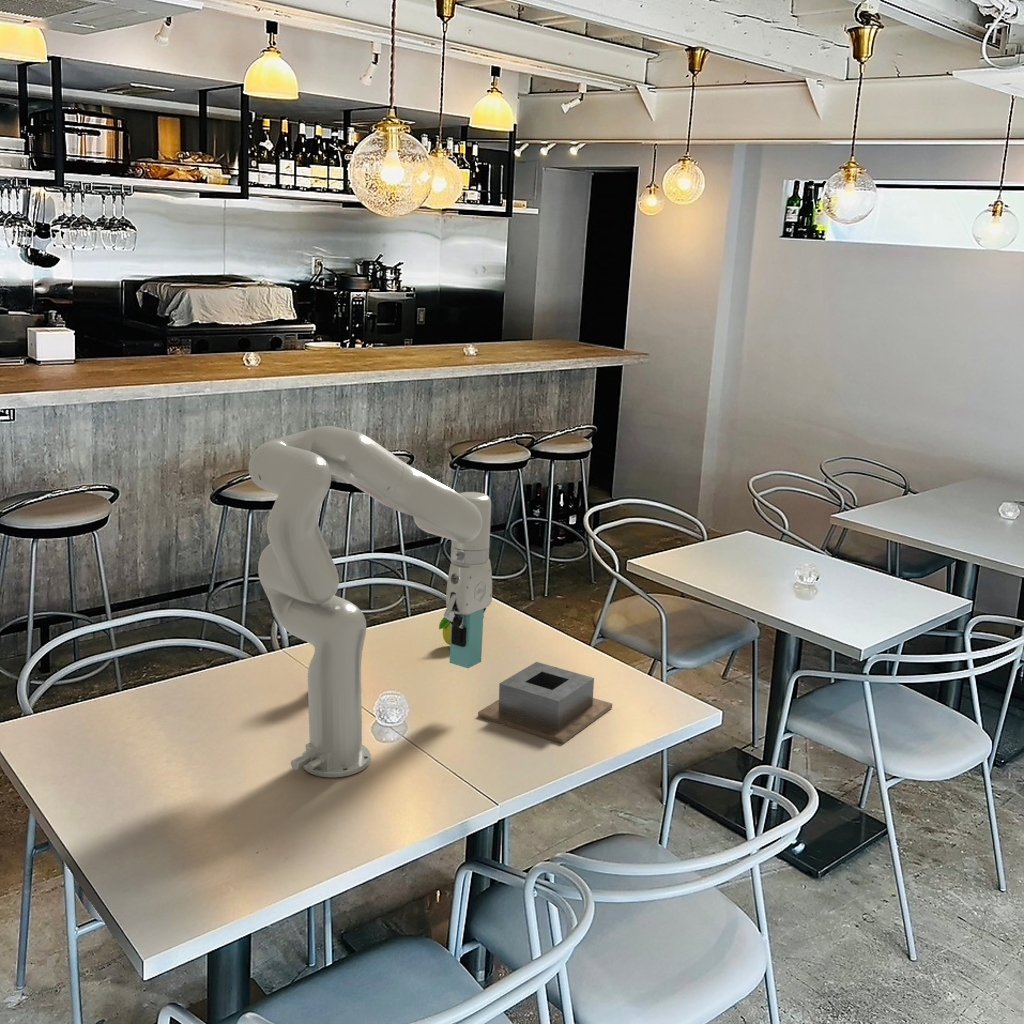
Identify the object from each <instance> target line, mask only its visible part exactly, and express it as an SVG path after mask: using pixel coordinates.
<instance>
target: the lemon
mask: <svg viewBox="0 0 1024 1024" xmlns="http://www.w3.org/2000/svg"><path fill="white" fill-rule="evenodd" d="M441 629H442V639H443V640H444V642H445V643H446V644H447V645H449V646H450V639H451V625H450V622H449V621H448V619H446V618H445V617H444V616H443V618H441V620H440V622H439V625H438V630H441Z"/></svg>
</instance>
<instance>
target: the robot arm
mask: <svg viewBox="0 0 1024 1024" xmlns="http://www.w3.org/2000/svg"><path fill="white" fill-rule="evenodd" d="M248 474H249V476H250V478H251V481H252V482H253V483H254V484H255V485H256V486H257V487H258V488H260V489H261V490H264V491H266V492H269V493H272V494H275V495H278V496H277V497H276V499H275V501H274V504H273V506H272V508H271V511H270V514H269V516H268V519H267V524H266V532H267V537H268V541H269V544H268V545H267V546H265V547H264V549H263V550H262V552H261V554H260V557H259V559H258V564H257V565H258V566H257V569H258V570H257V571H258V572H257V573H258V577H259V578H258V579H259V581H260V584H261V586H262V589H263V590H264V593H265V595H266V597H267V599H268V601H269V603H270V605H271V607H272V609H273V611H274V613H275V616H276V618H277V619H278V622H280V624H281V626H282V627H283V628H284V629H285V631H286V632H288V633H289V634H290V635H292V636H294V637H296V638H298V639H299V640H301V641H304V642H307V644H310V645H312V646H313V648H314V652H313V655H312V657H311V660H310V662H309V664H308V668H307V689H308V691H307V694H308V695H307V696H308V731H309V732H308V734H309V735H308V736H309V740H308V743H307V744H305V750H304V752H302V754H301V755H299V756H297V757H296V758H294V759H292V760H291V761H290V765H291V768H292V769H293V770H295V771H297V770H300V769H302V768H303V770H305V771H306V772H308V774H312V775H314V776H317V777H322V778H344V777H348V776H352V775H355V774H357V773H360V772H361V771H363V770H365V769H366V768H367V767H368V766H369V765H370V763H371V761H372V760H371V759H372V758H371V756H372V755H371V752H370V750H369V749H368V747H366V746H365V745H363V723H362V722H363V721H362V719H363V718H362V717H363V715H362V712H363V711H362V708H363V707H362V705H363V704H362V698H363V697H362V658H363V650H364V649H363V648H364V644H365V640H366V639H365V638H366V634H367V621H366V617H365V615H364V613H363V612H362V610H361V609H360V608H359V607H358V606H357V605H355V604H354V603H352V602H351V601H349V600H347V599H344V598H342V597H340V596H337V595H336V594H337V591H338V589H339V583H340V577H339V574H338V568H337V567H336V565H335V562H334V560H333V558H332V555H331V553H330V551H329V548H328V546H327V543H326V542H325V540H324V536H323V534H322V531H321V528H320V526H319V519H318V518H319V513H320V512H319V511H320V509H321V506H322V503H323V502H324V500H325V498H326V496H327V494H328V492H329V490H330V487H331V483H332V476H335V477H338V478H340V479H342V480H343V481H346V482H347V483H349V484H350V485H352V486H354V488H355V487H356V488H357V489H359V490H360V491H362V492H364V493H365V494H366V495H368V496H370V498H373V499H374V500H376V501H377V502H378V503H380V504H381V505H383V506H386V507H388V508H390V509H391V510H395V511H397V512H400V513H402V514H405V515H408V516H411V517H413V521H414V523H415V524H416V526H417V528H419V529H420V530H421V531H423V532H425V533H427V534H432V535H434V536H437V537H441V538H444V539H448V540H450V541H451V548H450V562H451V563H450V566H449V571H448V574H447V575H448V576H447V584H446V594H445V595H446V598H445V599H446V600H445V603H446V604H445V606H446V608H445V610H444V613H443V618H444V617H445V618H446V619H448V621H449V622H450V625H451V626H452V637H451V643H452V644H454V645H457V646H461V647H464V646H466V628H465V627H464V626H465V621H466V615H470V614H472V613H475V612H477V611H479V610H482V609H484V613H483V620H485V619H484V618H485V611H486V610H487V608H488V607H489V606H491V605H492V600H493V576H492V575H493V574H492V566H491V565H492V564H491V559H490V543H491V542H490V539H491V537H490V536H491V520H492V519H491V517H492V499H491V498H490V496H489V495H487V494H486V493H483V492H477V491H463V492H459V493H458V492H457V491H455V490H454V489H452V488H450V487H448V486H446V485H445V484H443V483H441V482H440V481H437V480H435V479H433V478H432V477H430V476H429V475H427V474H426V473H423V472H422V471H420V470H418V469H416V468H415V467H412V466H411V465H410V464H407V463H406V462H404V461H403V460H402V459H400V458H399V457H398V456H396V455H395V454H393V453H392V452H390V451H389V450H388V449H386V448H385V447H383V446H382V445H380V444H379V443H378V442H376V441H375V440H373V439H372V438H371V437H369V436H367V435H365V434H363V433H362V432H359V431H356V430H350V429H345V428H342V427H337V426H334V425H324V426H323V425H322V426H319V427H314V428H310V429H307V430H306V429H305V430H303V431H299V432H296V433H293V434H290V435H285V436H282V437H278V438H275V439H272V440H269V441H267V442H264V443H263V444H261V445H260V446H259V445H258V447H257V448H255V450H254V451H253V452H252V454H251V456H250V459H249V462H248ZM457 608H458V610H459V611H457ZM457 614H458V615H461V618H460V620H459V618H458V617H457Z"/></svg>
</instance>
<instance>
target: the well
mask: <svg viewBox="0 0 1024 1024" xmlns="http://www.w3.org/2000/svg"><path fill="white" fill-rule="evenodd" d="M594 683H595V677H592V676H588V675H585V674H582V673H578V672H574V671H570V670H568V669H564V668H559V667H556V666H553V665H549V664H546V663H541V662H539V661H535V662H534V663H532V664H530V665H529V666H527V667H525V668H523V669H522V670H520V671H518V672H516V673H515V674H513V675H511V676H510V677H508V678H507V679H504V680H503V681H501V682H499V687H498V699H497V700H495V701H494V702H492V703H491V704H488V706H486V707H484V708H481V710H479V711H478V712H477V717H478V718H481V719H485V720H488V721H490V722H493V721H494V723H496V722H497V723H496V724H499V723H500V724H501V725H502V724H504V725H503V726H506V727H509V726H510V727H509V728H512V729H515V728H516V729H515V730H518V729H519V730H518V731H521V730H522V731H521V732H524V731H525V732H524V733H527V732H528V733H527V734H530V733H531V735H533V734H534V735H533V736H536V735H538V736H537V737H539V736H541V737H540V738H542V737H544V739H546V738H547V739H546V740H549V741H552V742H556V743H558V744H561V745H563V744H565V743H566V742H568V741H569V740H570V739H571V737H572V738H573V737H574V736H576V735H577V734H578V733H580V732H581V731H583V730H584V729H585V728H587V727H588V726H589V725H591V724H593V723H594V722H595V721H596V720H598V719H600V717H602V716H603V715H605V714H606V713H607V712H609V711H610V710H611V709H612V708H613V703H611V702H608V701H606V700H601V699H599V698H594V685H595V684H594ZM586 726H587V727H586ZM582 729H583V730H582Z"/></svg>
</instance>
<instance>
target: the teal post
mask: <svg viewBox="0 0 1024 1024" xmlns="http://www.w3.org/2000/svg"><path fill="white" fill-rule="evenodd" d="M457 611H459V610H458V608H457ZM483 613H484V614H485V612H484V609H482V610H479V611H477V612H475V613H472V614H470V615H466V621H465V626H464V627H465V628H466V646H464V647H461V646H457V645H454V644H452V643H451V639H450V645H449V664H452V665H455V666H459V667H462V668H465V669H469V668H471V667H474V666H476V665H478V664H480V663H482V653H483V652H482V651H483V649H482V648H483V635H484V634H483V632H484V619H483ZM457 617H458V618H459V620H460V618H461V615H458V614H457ZM451 637H452V626H451Z"/></svg>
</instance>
